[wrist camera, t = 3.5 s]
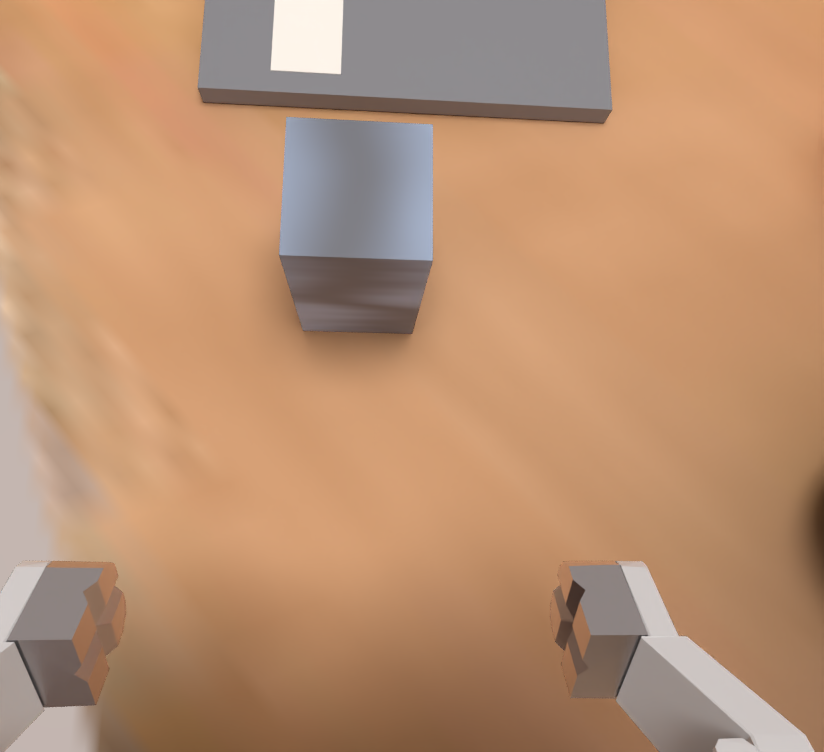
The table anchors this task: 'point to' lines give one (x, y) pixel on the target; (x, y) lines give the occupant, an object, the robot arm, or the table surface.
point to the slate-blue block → (357, 222)
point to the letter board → (411, 56)
